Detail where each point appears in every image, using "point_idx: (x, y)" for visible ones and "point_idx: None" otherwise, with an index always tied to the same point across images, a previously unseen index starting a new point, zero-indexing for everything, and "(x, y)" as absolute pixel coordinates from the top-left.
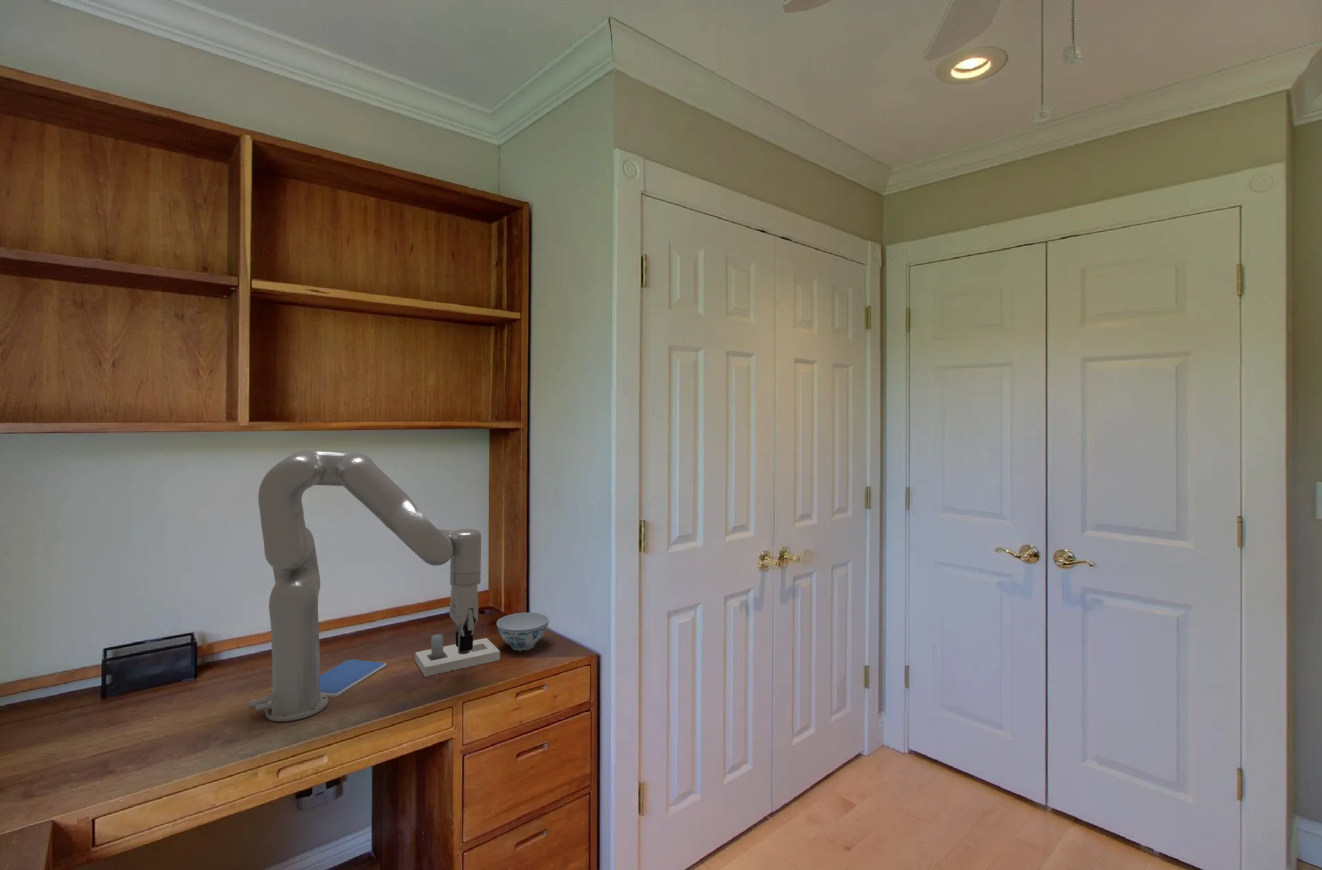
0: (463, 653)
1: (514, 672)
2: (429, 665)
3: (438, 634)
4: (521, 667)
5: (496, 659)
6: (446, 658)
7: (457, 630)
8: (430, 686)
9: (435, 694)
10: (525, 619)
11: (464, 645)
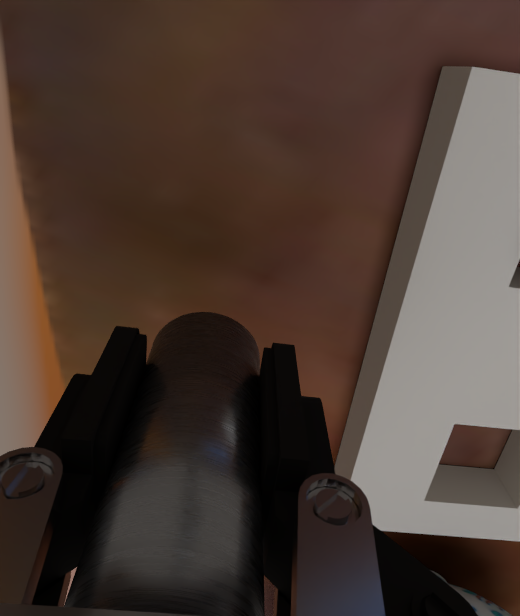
0: (155, 341)
1: None
2: (480, 115)
3: None
4: None
5: None
6: (493, 269)
7: (310, 484)
8: (256, 33)
9: (96, 8)
10: None
11: (66, 391)
